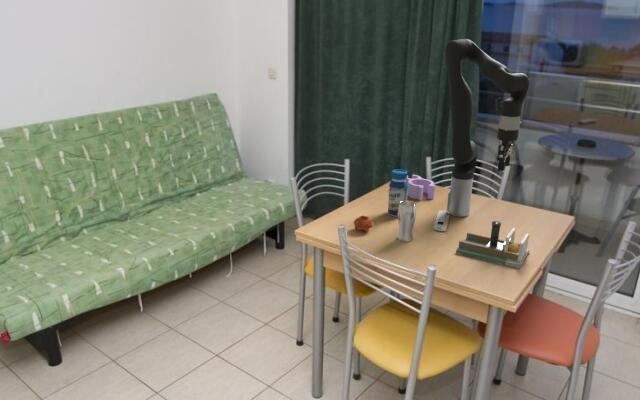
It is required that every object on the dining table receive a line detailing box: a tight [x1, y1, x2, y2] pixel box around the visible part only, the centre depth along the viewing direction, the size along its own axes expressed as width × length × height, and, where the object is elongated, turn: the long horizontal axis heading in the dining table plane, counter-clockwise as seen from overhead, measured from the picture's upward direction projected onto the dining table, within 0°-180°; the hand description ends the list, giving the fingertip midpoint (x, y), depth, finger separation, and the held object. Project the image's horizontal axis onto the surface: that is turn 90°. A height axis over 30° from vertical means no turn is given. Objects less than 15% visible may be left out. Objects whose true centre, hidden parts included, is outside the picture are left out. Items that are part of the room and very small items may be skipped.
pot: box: [353, 215, 374, 234], centre depth 214 cm, size 8×8×7 cm
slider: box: [486, 220, 511, 250], centre depth 193 cm, size 7×7×10 cm
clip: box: [406, 174, 436, 202], centre depth 258 cm, size 20×12×7 cm, turn 17°
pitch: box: [455, 227, 530, 269], centre depth 194 cm, size 23×16×10 cm
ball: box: [508, 242, 519, 253], centre depth 191 cm, size 4×4×4 cm
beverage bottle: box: [387, 168, 408, 218], centre depth 230 cm, size 8×8×20 cm
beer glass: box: [397, 200, 417, 243], centre depth 205 cm, size 7×7×15 cm
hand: (503, 168), depth 203 cm, fingers open, 8 cm apart
